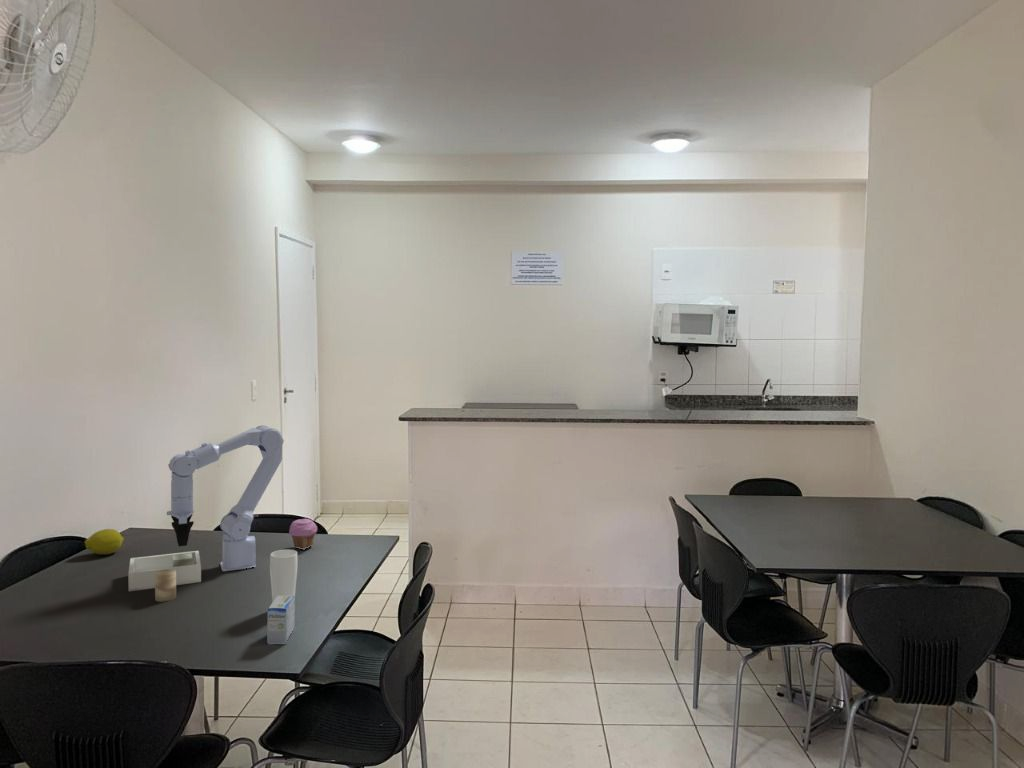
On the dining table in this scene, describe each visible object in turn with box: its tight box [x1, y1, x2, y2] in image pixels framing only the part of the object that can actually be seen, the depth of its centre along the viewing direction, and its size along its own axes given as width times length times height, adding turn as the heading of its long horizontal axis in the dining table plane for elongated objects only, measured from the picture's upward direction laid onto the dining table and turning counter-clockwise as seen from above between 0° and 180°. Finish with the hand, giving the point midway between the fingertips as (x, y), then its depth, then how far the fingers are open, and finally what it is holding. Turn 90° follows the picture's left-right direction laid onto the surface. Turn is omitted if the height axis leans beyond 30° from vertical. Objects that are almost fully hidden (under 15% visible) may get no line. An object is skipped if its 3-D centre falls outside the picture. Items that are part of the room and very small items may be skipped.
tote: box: [127, 550, 202, 592], centre depth 192 cm, size 18×14×5 cm
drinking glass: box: [269, 549, 299, 602], centre depth 171 cm, size 7×7×15 cm
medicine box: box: [266, 595, 296, 644], centre depth 156 cm, size 8×4×9 cm, turn 5°
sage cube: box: [173, 553, 192, 567], centre depth 194 cm, size 5×5×5 cm
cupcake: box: [288, 518, 318, 548], centre depth 222 cm, size 9×9×10 cm
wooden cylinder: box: [154, 569, 177, 603], centre depth 178 cm, size 5×5×7 cm
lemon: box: [84, 528, 125, 556], centre depth 211 cm, size 11×8×8 cm
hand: (182, 542), depth 193 cm, fingers open, 7 cm apart
